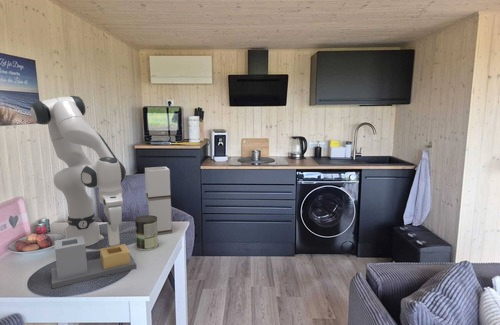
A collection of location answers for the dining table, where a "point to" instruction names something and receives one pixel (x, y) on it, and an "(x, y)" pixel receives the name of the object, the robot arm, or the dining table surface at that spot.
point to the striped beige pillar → (159, 197)
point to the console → (87, 262)
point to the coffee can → (146, 232)
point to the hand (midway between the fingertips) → (113, 229)
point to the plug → (113, 235)
